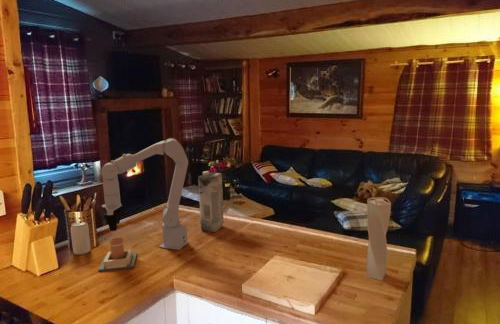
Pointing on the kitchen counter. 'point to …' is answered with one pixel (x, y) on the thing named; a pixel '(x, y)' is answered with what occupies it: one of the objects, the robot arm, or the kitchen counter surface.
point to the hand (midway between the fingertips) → (115, 227)
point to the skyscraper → (377, 237)
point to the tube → (117, 248)
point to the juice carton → (210, 201)
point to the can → (80, 238)
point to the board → (118, 261)
